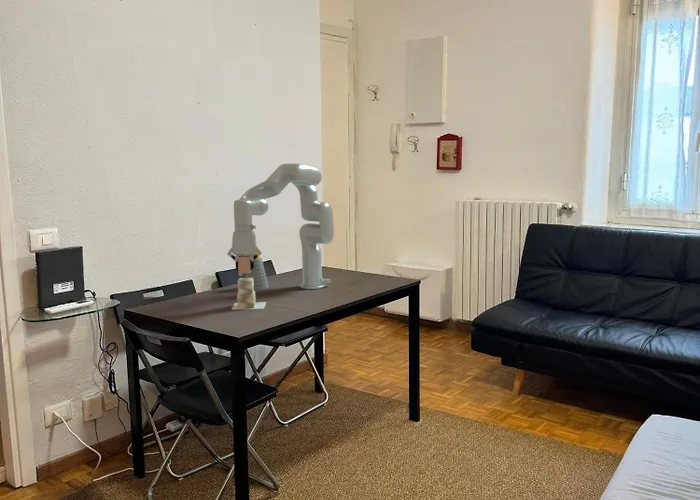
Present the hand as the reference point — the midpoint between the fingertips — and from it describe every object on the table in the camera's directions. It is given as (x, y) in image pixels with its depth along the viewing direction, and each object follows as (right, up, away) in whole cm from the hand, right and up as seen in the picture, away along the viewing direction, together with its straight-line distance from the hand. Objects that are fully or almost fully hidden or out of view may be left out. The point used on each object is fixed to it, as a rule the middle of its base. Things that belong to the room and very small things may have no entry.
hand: (245, 269), depth 277 cm
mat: (+1, -16, +4) cm, 17 cm away
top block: (0, -1, 0) cm, 1 cm away
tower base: (0, -16, +3) cm, 16 cm away
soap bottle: (-1, -11, +41) cm, 43 cm away
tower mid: (0, -10, +2) cm, 10 cm away
